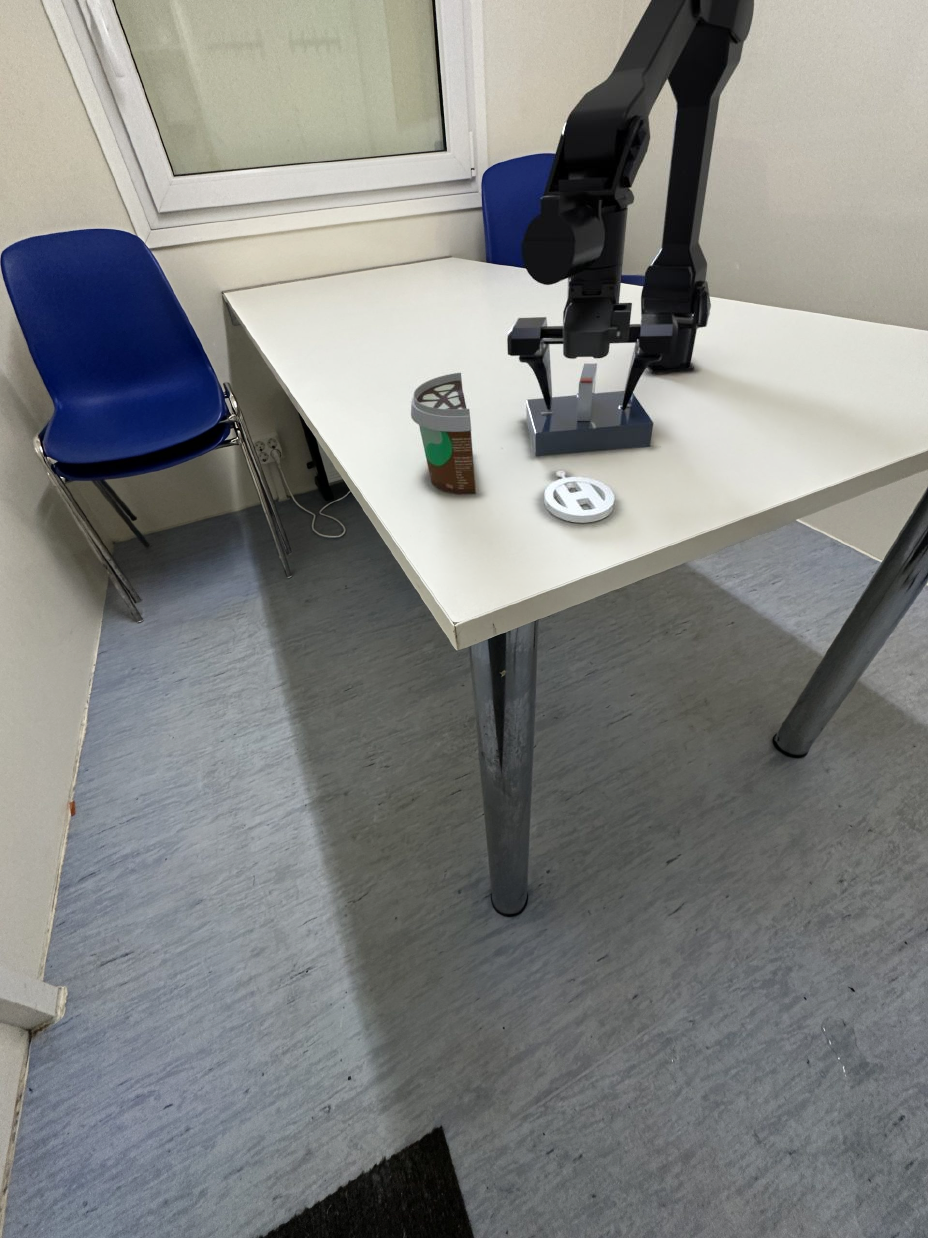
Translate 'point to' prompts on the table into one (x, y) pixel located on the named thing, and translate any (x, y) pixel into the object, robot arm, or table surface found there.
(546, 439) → the tap base
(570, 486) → the pendant
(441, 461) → the food container
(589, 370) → the gray bar
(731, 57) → the robot arm
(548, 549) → the table surface
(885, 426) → the table surface
